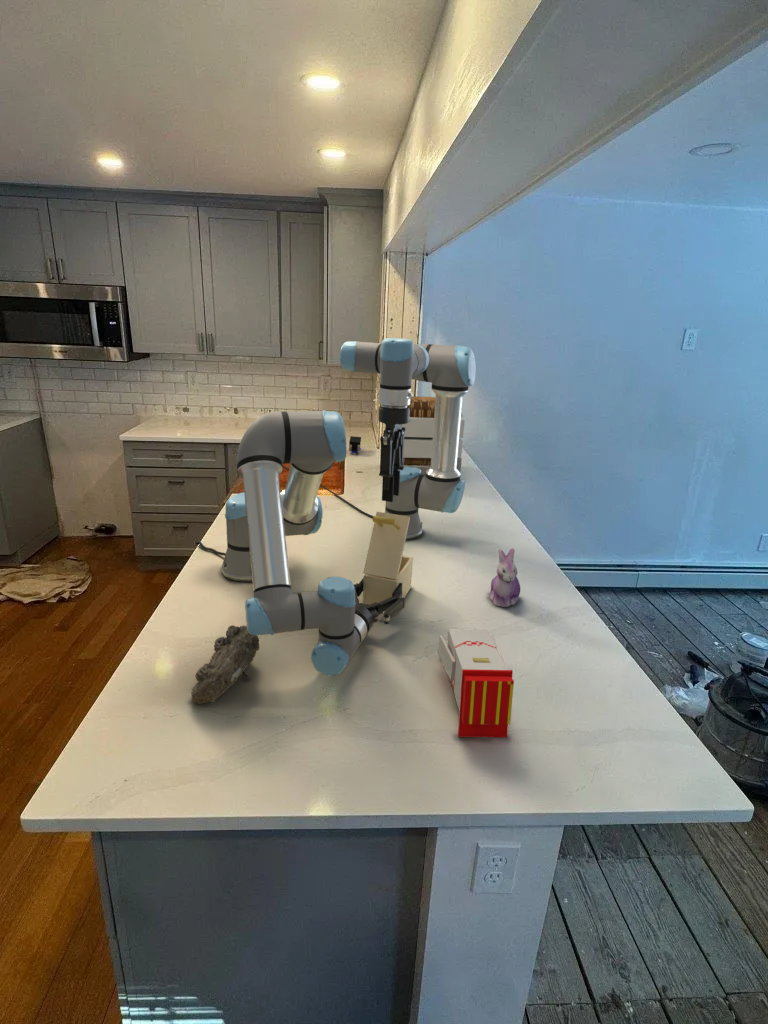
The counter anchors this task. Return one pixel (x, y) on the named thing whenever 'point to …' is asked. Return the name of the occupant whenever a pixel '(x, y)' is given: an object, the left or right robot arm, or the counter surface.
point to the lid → (386, 545)
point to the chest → (387, 583)
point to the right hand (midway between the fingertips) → (390, 497)
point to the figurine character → (354, 444)
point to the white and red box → (478, 682)
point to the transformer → (423, 433)
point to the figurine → (505, 581)
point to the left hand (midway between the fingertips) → (383, 584)
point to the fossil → (225, 664)
